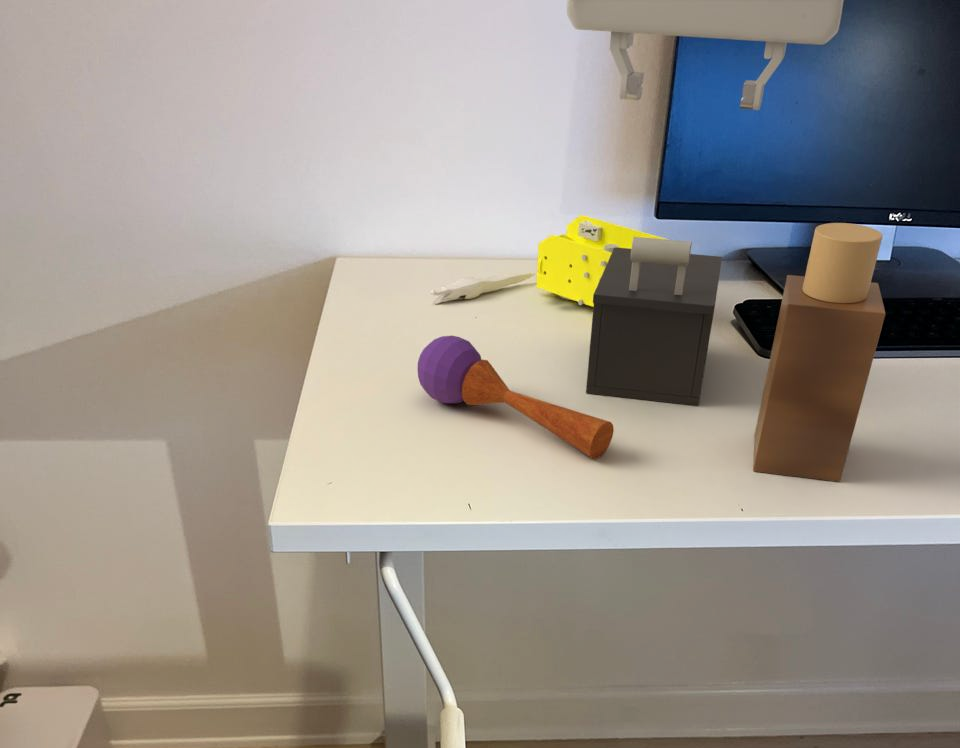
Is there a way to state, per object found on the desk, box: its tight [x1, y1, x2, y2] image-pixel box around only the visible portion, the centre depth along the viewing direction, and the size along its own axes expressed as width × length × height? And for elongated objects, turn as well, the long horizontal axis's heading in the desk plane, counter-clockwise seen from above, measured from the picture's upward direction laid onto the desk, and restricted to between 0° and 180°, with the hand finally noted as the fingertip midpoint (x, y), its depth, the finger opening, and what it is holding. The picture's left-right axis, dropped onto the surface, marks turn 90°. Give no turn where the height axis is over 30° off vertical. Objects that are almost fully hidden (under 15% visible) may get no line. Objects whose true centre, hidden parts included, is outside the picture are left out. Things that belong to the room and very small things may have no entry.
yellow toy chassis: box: [535, 214, 669, 307], centre depth 110 cm, size 16×6×8 cm, turn 44°
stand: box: [752, 274, 886, 483], centre depth 80 cm, size 7×7×14 cm
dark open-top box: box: [585, 303, 714, 407], centre depth 96 cm, size 14×11×9 cm
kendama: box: [417, 335, 614, 460], centre depth 87 cm, size 6×6×20 cm
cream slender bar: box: [429, 272, 536, 305], centre depth 115 cm, size 15×3×2 cm, turn 125°
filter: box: [802, 222, 883, 303], centre depth 75 cm, size 5×5×4 cm
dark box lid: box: [593, 237, 723, 316], centre depth 91 cm, size 14×11×5 cm
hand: (689, 103), depth 78 cm, fingers open, 8 cm apart
